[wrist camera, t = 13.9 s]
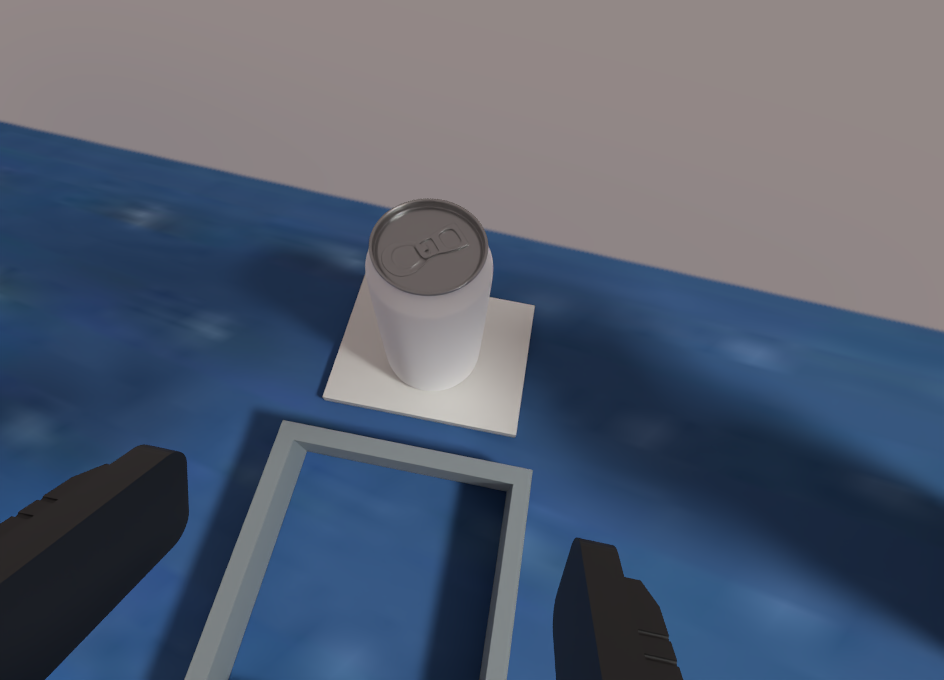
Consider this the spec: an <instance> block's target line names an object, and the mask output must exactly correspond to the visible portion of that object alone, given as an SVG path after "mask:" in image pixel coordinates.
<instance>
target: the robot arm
mask: <svg viewBox="0 0 944 680" xmlns="http://www.w3.org/2000/svg"><path fill="white" fill-rule="evenodd" d="M188 516H189V504H188V480H187V461H186V457H185V455H184V454H183V453H181V452H178V451H174V450H169V449H164V448H160V447H155V446H150V445H139V446H137V447H135V448H133V449H132V450H130V451H129V452H128V453H126V454H125V455H123V456H122V457H120V458H119V459H117V460H116V461H114V462H113V463H111V464H110V465H109V464H104V465H102V466H99V467H97V468H94V469H92V470H89V471H87V472H84V473H82V474H79V475H77V476H74V477H72V478H70V479H69V480H67V481H65V482H64V483H62V484H61V485H59V486H58V487H56V488H55V489H53V490H52V491H50V492H49V493H47V494H45V495H44V496H43V498H42V499H41V500H36V501H35V502H33V503H32V504H30V505H28V506H27V507H25V508H24V509H22V510H21V511H19V512H18V515H17V516H16V517H12V516H11V517H10V518H8V519H7V520H5V521H4V522H2V523H1V524H0V680H45V679H46V678H47V677H48V676H49V675H50V674H51V673H52V672H53V671H54V670H55V669H56V668H57V667H58V666H59V665H60V663H61V662H62V661H63V660H64V659H65V658H66V657H67V656H68V655H69V654H70V653H71V652H72V651H73V650H74V649H75V648H76V647H77V646H78V645H79V644H80V643H81V642H82V641H83V640H84V639H85V638H86V637H87V636H88V635H89V633H90V632H91V631H92V630H93V629H94V628H95V627H96V626H97V625H98V624H99V623H100V622H101V621H102V620H103V619H104V618H105V617H106V616H107V615H108V614H109V613H110V612H111V611H112V610H113V609H114V608H115V607H116V606H117V604H118V603H119V602H120V601H121V600H122V599H123V598H124V597H125V596H126V595H127V594H128V593H129V592H130V591H131V590H132V589H133V588H134V587H135V586H136V585H137V584H138V583H139V582H140V581H141V580H142V579H143V578H144V577H145V576H146V574H147V573H148V572H149V571H150V570H151V569H152V568H153V567H154V566H155V565H156V564H157V563H158V562H159V561H160V560H161V559H162V558H163V557H164V556H165V555H166V554H167V553H168V552H169V551H170V550H171V549H172V548H173V546H174V545H175V544H176V543H177V542H178V540H179V539H180V537H181V535H182V534H183V532H184V529H185V527H186V524H187V521H188ZM668 637H669V635H668V632H667V628H666V625H665V622H664V619H663V616H662V613H661V610H660V607H659V606H658V604H657V603H656V601H655V600H654V599H653V597H652V596H651V594H650V593H649V592H648V590H647V589H646V587H645V586H644V585H643V583H642V582H641V581H640V580H635V579H631V578H626V577H624V574H623V571H622V567H621V563H620V559H619V555H618V552H617V549H616V547H615V546H613V545H609V544H604V543H600V542H595V541H590V540H586V539H581V538H575V539H574V541H573V543H572V546H571V549H570V552H569V555H568V559H567V562H566V565H565V569H564V572H563V575H562V578H561V582H560V585H559V588H558V591H557V595H556V599H555V605H554V613H553V640H554V655H555V669H556V680H683V678H682V675H681V672H680V668H679V667H677V659H676V656H675V653H674V650H673V647H672V644H671V642H670V641H669V639H668Z"/></svg>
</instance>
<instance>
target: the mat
mask: <svg viewBox="0 0 944 680" xmlns="http://www.w3.org/2000/svg"><path fill="white" fill-rule="evenodd" d="M534 308H535V306H534V305H529V304H523V303H518V302H513V301H508V300H502V299H497V298H492V297H489V302H488V308H487V314H486V320H485V325H484V331H483V336H482V342H481V347H480V352H479V357H478V360H477V363H476V365H475V367H474V369H473V371H472V372H471V373H470V375H469V376H468V377H467V378H466V379H465V380H463V381H462V382H461V383H459V384H458V385H456V386H454V387H451V388H449V389H445V390H441V391H424V390H420V389H416V388H414V387H411V386H409V385H408V384H406V383H405V382H403V381H402V380H401V379H400V378H399V377H398V376H397V375H396V374H395V372H394V371H393V370H392V368H391V366H390V364H389V362H388V359H387V356H386V353H385V349H384V345H383V342H382V338H381V334H380V330H379V327H378V323H377V319H376V315H375V311H374V307H373V304H372V300H371V296H370V292H369V287H368V283H367V278H366V274H365V276H364V279H363V282H362V285H361V288H360V291H359V293H358V296H357V299H356V302H355V305H354V308H353V311H352V314H351V316H350V319H349V322H348V325H347V328H346V331H345V334H344V337H343V340H342V342H341V345H340V348H339V351H338V354H337V357H336V360H335V363H334V365H333V368H332V371H331V374H330V377H329V380H328V383H327V386H326V388H325V391H324V394H323V398H324V400H327V401H332V402H338V403H343V404H348V405H353V406H358V407H363V408H368V409H373V410H378V411H383V412H388V413H393V414H398V415H403V416H408V417H413V418H418V419H423V420H428V421H433V422H438V423H443V424H448V425H454V426H459V427H464V428H469V429H474V430H479V431H484V432H489V433H494V434H499V435H504V436H509V437H514V438H515V436H516V432H517V425H518V418H519V411H520V404H521V397H522V390H523V383H524V377H525V370H526V363H527V356H528V349H529V342H530V335H531V328H532V321H533V315H534Z"/></svg>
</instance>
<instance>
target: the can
mask: <svg viewBox="0 0 944 680" xmlns="http://www.w3.org/2000/svg"><path fill="white" fill-rule="evenodd" d="M365 270H366V278H367V283H368V287H369V292H370V296H371V300H372V304H373V307H374V311H375V315H376V319H377V323H378V327H379V330H380V334H381V338H382V342H383V345H384V349H385V353H386V356H387V359H388V362H389V364H390V366H391V368H392V370H393V371H394V372H395V374H396V375H397V376H398V377H399V378H400V379H401V380H402V381H403V382H405V383H406V384H408V385H409V386H411V387H414V388H416V389H420V390H424V391H441V390H445V389H449V388H451V387H454V386H456V385H458V384H459V383H461V382H462V381H463V380H465V379H466V378H467V377H468V376H469V375H470V373H471V372H472V371H473V369H474V367H475V365H476V363H477V360H478V357H479V352H480V347H481V342H482V336H483V331H484V325H485V320H486V314H487V308H488V302H489V296H490V290H491V284H492V277H493V259H492V255H491V251H490V249H489V246H488V240H487V236H486V233H485V231H484V228H483V227H482V225H481V224H480V222H479V221H478V220H477V218H476V217H475V216H473V215H472V214H471V213H470V212H469V211H467V210H466V209H464V208H463V207H461V206H459V205H457V204H454V203H452V202H448V201H444V200H439V199H418V200H412V201H408V202H405V203H403V204H400V205H398V206H396V207H394V208H392V209H391V210H389V211H388V212H387V213H385V214H384V215H383V216H382V217H381V218H380V219H379V220H378V222H377V223H376V225H375V226H374V228H373V230H372V233H371V235H370V240H369V249H368V252H367V256H366V262H365Z"/></svg>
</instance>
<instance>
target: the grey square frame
mask: <svg viewBox="0 0 944 680" xmlns="http://www.w3.org/2000/svg"><path fill="white" fill-rule="evenodd" d="M307 451H309V452H314V453H319V454H323V455H328V456H333V457H338V458H343V459H348V460H353V461H358V462H363V463H368V464H373V465H378V466H383V467H388V468H393V469H398V470H403V471H408V472H413V473H418V474H423V475H427V476H432V477H437V478H442V479H447V480H452V481H457V482H462V483H467V484H472V485H477V486H482V487H487V488H492V489H497V490H502V491H507V493H506V500H505V507H504V514H503V521H502V528H501V535H500V541H499V548H498V555H497V562H496V569H495V576H494V582H493V589H492V596H491V603H490V610H489V617H488V623H487V630H486V637H485V644H484V651H483V658H482V664H481V671H480V678H479V680H507V672H508V664H509V656H510V648H511V640H512V632H513V624H514V616H515V608H516V600H517V591H518V583H519V575H520V567H521V559H522V551H523V543H524V535H525V527H526V519H527V511H528V503H529V495H530V487H531V479H532V471H533V470H530V469H525V468H520V467H515V466H510V465H505V464H500V463H495V462H490V461H485V460H480V459H475V458H470V457H465V456H460V455H455V454H450V453H445V452H440V451H435V450H430V449H425V448H420V447H415V446H410V445H405V444H400V443H395V442H390V441H385V440H380V439H375V438H370V437H365V436H360V435H355V434H350V433H345V432H340V431H335V430H330V429H325V428H320V427H315V426H310V425H305V424H300V423H295V422H290V421H285V420H283V421H282V424H281V426H280V429H279V432H278V434H277V437H276V440H275V442H274V445H273V447H272V450H271V453H270V455H269V458H268V461H267V463H266V466H265V469H264V471H263V474H262V476H261V479H260V482H259V484H258V487H257V490H256V492H255V495H254V498H253V500H252V503H251V505H250V508H249V511H248V513H247V516H246V519H245V521H244V524H243V527H242V529H241V532H240V534H239V537H238V540H237V542H236V545H235V548H234V550H233V553H232V556H231V558H230V561H229V564H228V566H227V569H226V571H225V574H224V577H223V579H222V582H221V585H220V587H219V590H218V593H217V595H216V598H215V600H214V603H213V606H212V608H211V611H210V614H209V616H208V619H207V622H206V624H205V627H204V629H203V632H202V635H201V637H200V640H199V643H198V645H197V648H196V651H195V653H194V656H193V658H192V661H191V664H190V666H189V669H188V672H187V674H186V677H185V680H228V679H229V676H230V673H231V670H232V667H233V664H234V661H235V659H236V656H237V653H238V650H239V647H240V644H241V641H242V638H243V635H244V632H245V630H246V627H247V624H248V621H249V618H250V615H251V612H252V609H253V606H254V603H255V600H256V598H257V595H258V592H259V589H260V586H261V583H262V580H263V577H264V574H265V571H266V569H267V566H268V563H269V560H270V557H271V554H272V551H273V548H274V545H275V542H276V540H277V537H278V534H279V531H280V528H281V525H282V522H283V519H284V516H285V513H286V510H287V508H288V505H289V502H290V499H291V496H292V493H293V490H294V487H295V484H296V481H297V479H298V476H299V473H300V470H301V467H302V464H303V461H304V458H305V455H306V452H307Z"/></svg>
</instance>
